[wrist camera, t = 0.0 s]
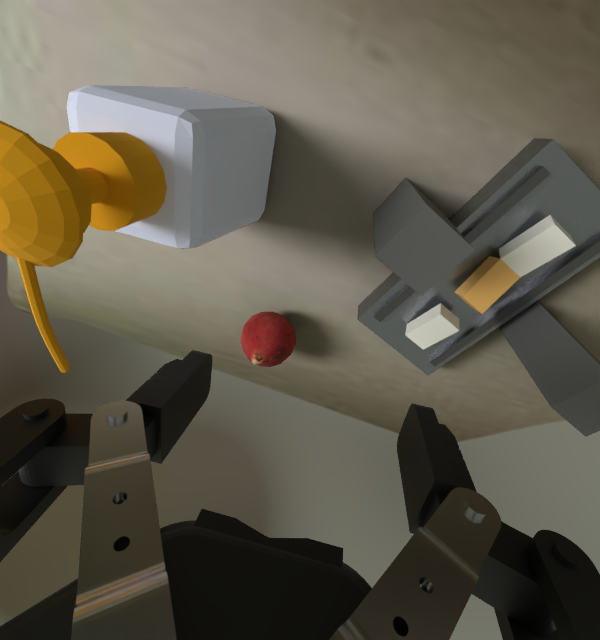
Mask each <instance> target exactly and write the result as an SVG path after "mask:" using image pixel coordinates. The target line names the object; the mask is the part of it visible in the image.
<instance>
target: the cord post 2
mask: <svg viewBox="0 0 600 640" xmlns="http://www.w3.org/2000/svg"><path fill="white" fill-rule="evenodd" d="M499 328H500V330H501V332H502V333H503V335H504V336H505V338H506V339H507V341H508V342H509V344H510V345H511V347H512V348H513V350H514V351H515V353H516V354H517V356H518V357H519V359H520V360H521V362H522V364H523V365H524V367H525V368H526V370H527V371H528V373H529V374H530V376H531V377H532V379H533V380H534V382H535V383H536V385H537V386H538V388H539V389H540V391H541V392H542V394H543V395H544V397H545V399H546V400H547V402H548V403H549V405H550V406H551V407H552V408H553V409H554V410H555V411H556V412H558V413H559V414H560V415H561V416H562V417H563V418H565V419H566V420H567V421H568V422H569V423H570V424H572V425H573V426H574V427H575V428H577V430H579V431H580V432H581V433H582V434H583V435H584V436H588V435H591V434H592V433H595V432H598V431H600V362H599V361H598V360H597V359H596V358H595V357H594V356H593V355H592V354H591V353H590V352H589V351H588V350H587V349H586V348H585V347H584V346H583V345H582V344H581V343H580V342H579V341H578V340H577V339H576V338H575V337H574V336H573V335H572V334H571V333H570V332H569V331H568V330H567V329H566V328H565V327H564V326H563V325H562V324H561V323H560V322H559V321H558V320H557V319H556V318H555V317H554V316H553V315H552V314H551V313H550V312H549V311H547V310H546V309H545V308H544V307H543V306H542V305H541V304H540V303H539V302H538V301H536V302H534V303H533V304H531V305H530V306H528V307H527V308H525V309H524V310H523V311H521V312H520V313H518V314H517V315H515V316H514V317H512V318H511V319H509V320H508V321H507V322H505V323H504V324H502V325H501V326H499Z"/></svg>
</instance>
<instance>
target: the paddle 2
mask: <svg viewBox="0 0 600 640" xmlns="http://www.w3.org/2000/svg"><path fill="white" fill-rule="evenodd" d="M575 246H576V245H575V243H574V241H573V239H572V237H571V236H570V234H569V233H568V232H567V231H566V230H565V229H564V228H563V227H562V226H561V225H560V224H559V223H558V222H557V221H556V220H555V219H554V218H553V217H552V216H551V215H549V216H547V217H546V218H544V219H543V220H541V221H540V222H538V223H537V224H535V225H534V226H532V227H531V228H529V229H528V230H526V231H525V232H523V233H522V234H520V235H519V236H517V237H516V238H514V239H513V240H511V241H510V242H508V243H507V244H505V245H504V246H502V247H501V248H499V254H500V259H501V260H502V261H503V262H505V263H506V264H507V265H508V266H509V267H510V268H511V269H512V270H513V271H514V272H515V273H516V274H517V275H518V276H519V277H522V276H524V275H525V274H527V273H529V272H531V271H533V270H534V269H536V268H538V267H540V266H541V265H543V264H545V263H547V262H548V261H550V260H552V259H554V258H555V257H557V256H559V255H561V254H562V253H564V252H566V251H568V250H569V249H571V248H573V247H575Z"/></svg>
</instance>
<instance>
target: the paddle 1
mask: <svg viewBox="0 0 600 640" xmlns="http://www.w3.org/2000/svg"><path fill="white" fill-rule="evenodd" d="M458 331H459V318H458V317H456V316H455V315H454V314H453V313H452V312H451V311H449V310H448V309H447V308H446V307H445V306H444V305H443V304H441V303H440V304H438V305H437V306H435V307H434V308H432V309H430V310H429V311H427V312H425V313H424V314H422V315H421V316H419V317H417V318H416V319H414V320H413V321H411V322H409V323H408V324H407V326H406V333H405V335H406V336H407V337H408V338H409V339H411V340H412V341H413V342H414V343H416V344H417V345H418V346H419V347H420V348H422V349H423V350H424V349H425V348H427V347H429V346H431V345H433V344H435V343H437V342H439V341H441V340H443V339H445V338H446V337H448V336H450V335H452V334H454V333H456V332H458Z"/></svg>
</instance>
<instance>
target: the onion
mask: <svg viewBox="0 0 600 640" xmlns="http://www.w3.org/2000/svg"><path fill="white" fill-rule="evenodd" d="M295 343H296V335H295V330H294V328H293V326H292V325H291V324H290V322H289V321H288V320H287V319H286V318H285V317H283V316H282V315H280V314H278V313H275V312H260V313H258V314H256V315H253V316H252V317H251V318H250V319H249V320H248V322H247V323H246V324H245V325H244V327H243V331H242V336H241V344H242V348H243V351H244V353H245V354H246V356H247V357H248V359H249V360H250V361H252V362H253V364H256V365H259V366H266V367H271V366H275V365H278V364H281V363H282V362H283V361H284V360H285V359H287V358H288V357H289V356H290V355H291V353H292V351H293V349H294V346H295Z"/></svg>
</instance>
